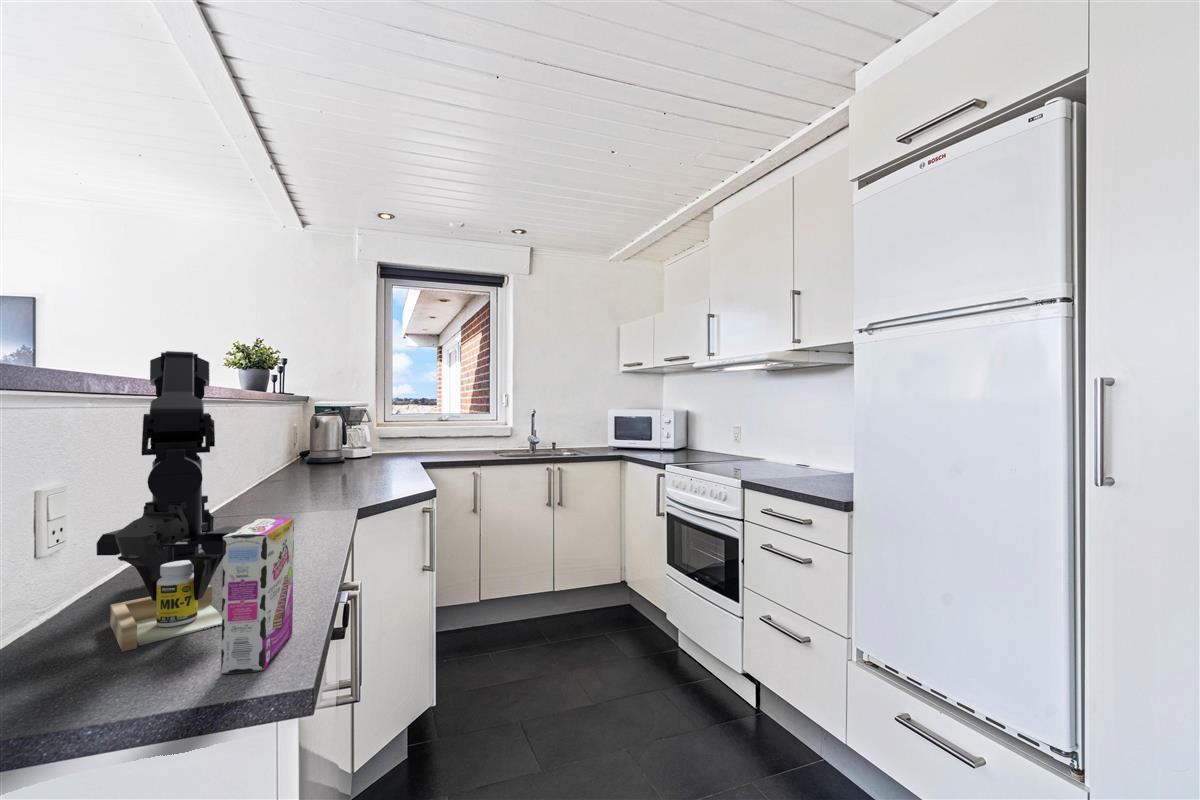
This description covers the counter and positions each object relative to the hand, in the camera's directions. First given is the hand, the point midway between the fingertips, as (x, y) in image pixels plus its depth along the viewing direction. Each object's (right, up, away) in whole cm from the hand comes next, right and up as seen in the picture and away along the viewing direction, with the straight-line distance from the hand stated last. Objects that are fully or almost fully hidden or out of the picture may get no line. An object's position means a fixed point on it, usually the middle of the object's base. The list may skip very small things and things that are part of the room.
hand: (177, 599), depth 81 cm
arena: (0, -4, 0) cm, 4 cm away
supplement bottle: (0, -3, 0) cm, 3 cm away
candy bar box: (+18, -4, -9) cm, 21 cm away
